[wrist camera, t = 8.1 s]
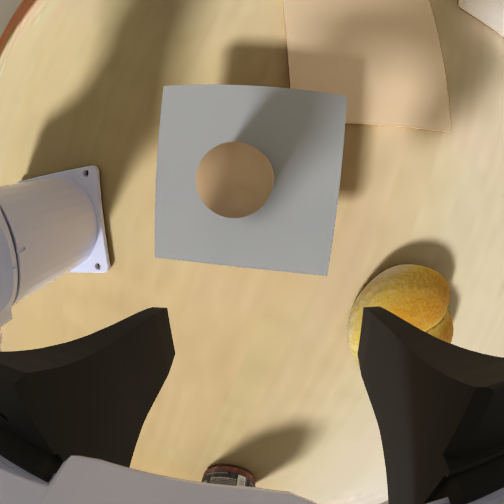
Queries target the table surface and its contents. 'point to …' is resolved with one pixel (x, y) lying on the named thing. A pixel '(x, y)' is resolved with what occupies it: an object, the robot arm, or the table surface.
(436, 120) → the mat
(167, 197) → the lid
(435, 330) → the bread roll
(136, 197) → the table surface
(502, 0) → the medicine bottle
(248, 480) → the supplement bottle
